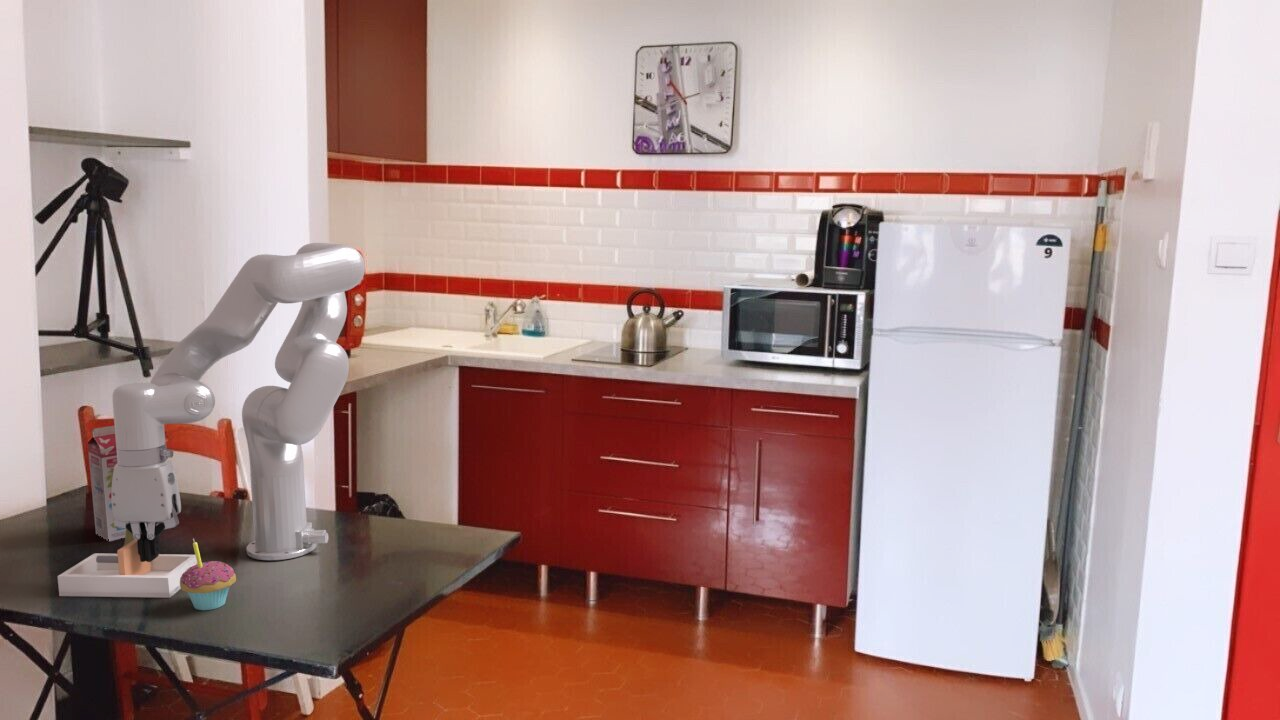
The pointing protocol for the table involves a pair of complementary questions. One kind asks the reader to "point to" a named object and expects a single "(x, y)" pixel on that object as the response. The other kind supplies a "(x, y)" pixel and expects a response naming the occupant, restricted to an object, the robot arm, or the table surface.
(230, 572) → the cupcake
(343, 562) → the table surface
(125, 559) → the pusher
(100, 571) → the white tray
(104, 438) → the juice carton
